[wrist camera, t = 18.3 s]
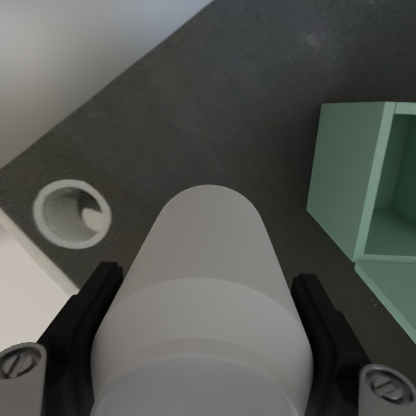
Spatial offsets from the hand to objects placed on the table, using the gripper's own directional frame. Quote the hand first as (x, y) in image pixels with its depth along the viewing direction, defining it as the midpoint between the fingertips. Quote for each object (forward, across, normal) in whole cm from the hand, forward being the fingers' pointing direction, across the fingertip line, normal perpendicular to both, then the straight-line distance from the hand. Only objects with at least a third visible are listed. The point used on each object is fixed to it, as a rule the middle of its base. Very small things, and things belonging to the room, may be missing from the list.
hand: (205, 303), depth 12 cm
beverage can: (+7, 0, 0) cm, 7 cm away
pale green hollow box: (+27, -17, -2) cm, 32 cm away
